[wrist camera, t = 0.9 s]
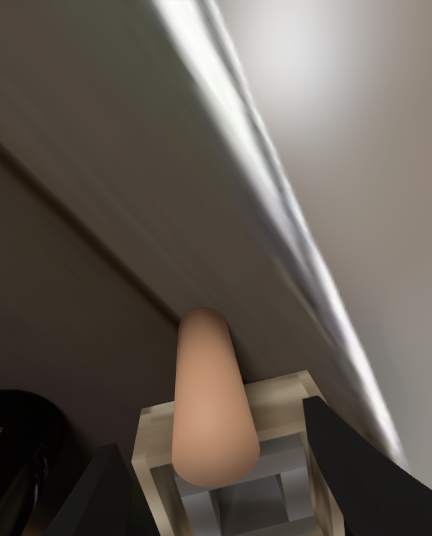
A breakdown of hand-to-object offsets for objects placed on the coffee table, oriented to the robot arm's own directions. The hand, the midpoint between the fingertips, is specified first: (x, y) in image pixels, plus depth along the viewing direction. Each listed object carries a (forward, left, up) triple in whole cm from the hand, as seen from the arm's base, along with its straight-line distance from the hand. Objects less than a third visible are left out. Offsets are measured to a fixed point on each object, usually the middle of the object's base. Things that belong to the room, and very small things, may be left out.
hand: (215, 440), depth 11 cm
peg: (0, 0, -8) cm, 8 cm away
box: (-13, 0, -8) cm, 16 cm away
